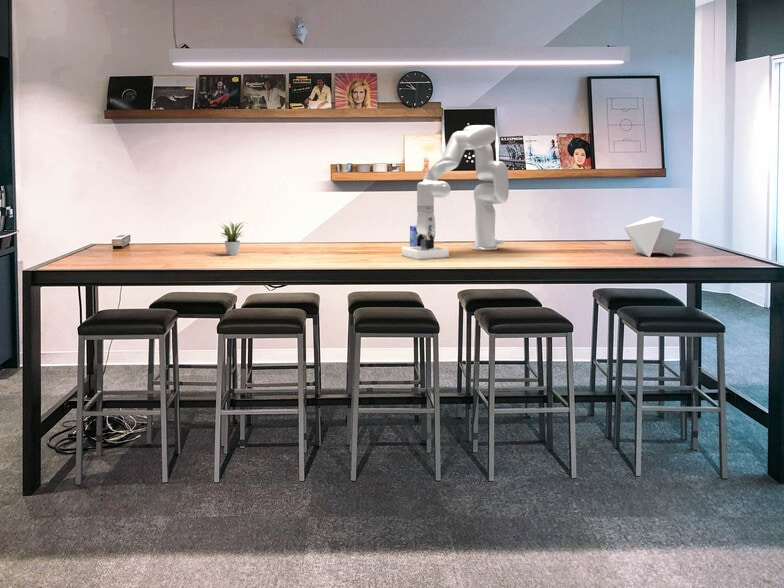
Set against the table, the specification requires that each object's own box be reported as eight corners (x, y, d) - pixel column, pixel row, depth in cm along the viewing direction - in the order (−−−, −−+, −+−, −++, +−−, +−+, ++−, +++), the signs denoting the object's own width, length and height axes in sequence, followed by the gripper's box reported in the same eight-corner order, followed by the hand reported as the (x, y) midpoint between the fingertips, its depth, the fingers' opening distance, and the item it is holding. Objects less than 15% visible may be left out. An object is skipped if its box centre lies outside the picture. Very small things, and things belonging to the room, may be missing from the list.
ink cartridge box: (414, 252, 380) (414, 221, 377) (408, 251, 385) (409, 220, 382) (432, 251, 384) (432, 220, 381) (427, 249, 389) (427, 220, 386)
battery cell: (427, 254, 368) (427, 237, 366) (431, 255, 364) (431, 238, 363) (419, 254, 366) (419, 238, 365) (423, 255, 362) (423, 239, 361)
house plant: (254, 252, 379) (253, 218, 376) (246, 256, 365) (245, 220, 362) (225, 252, 380) (224, 217, 377) (216, 256, 367) (214, 220, 364)
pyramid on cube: (611, 243, 377) (625, 207, 375) (658, 259, 380) (672, 223, 377) (622, 248, 361) (637, 210, 358) (671, 264, 363) (686, 227, 360)
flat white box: (432, 253, 376) (432, 245, 375) (448, 257, 361) (448, 249, 361) (401, 255, 369) (401, 247, 368) (417, 259, 355) (417, 251, 354)
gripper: (442, 210, 355) (441, 249, 358) (424, 207, 371) (424, 244, 374) (426, 211, 352) (426, 250, 355) (409, 208, 368) (409, 245, 371)
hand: (425, 247), depth 365 cm, fingers open, 9 cm apart
